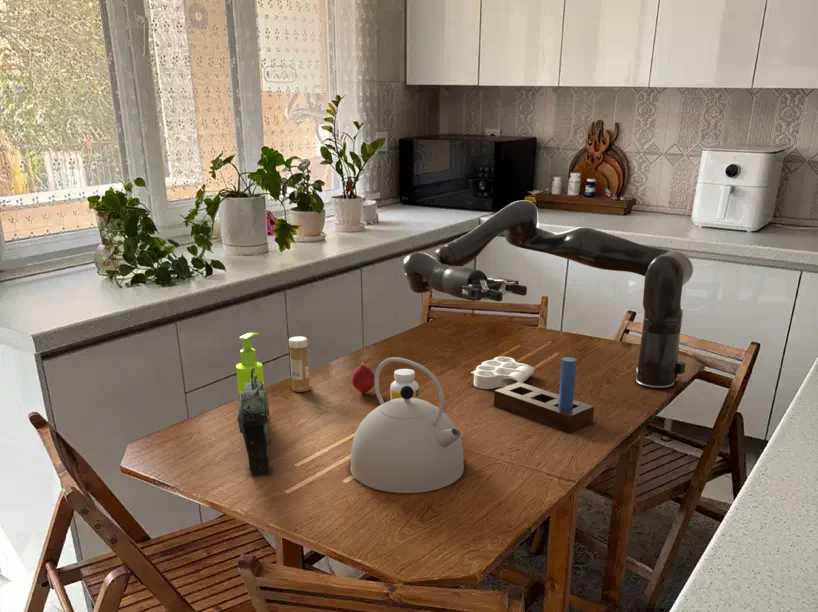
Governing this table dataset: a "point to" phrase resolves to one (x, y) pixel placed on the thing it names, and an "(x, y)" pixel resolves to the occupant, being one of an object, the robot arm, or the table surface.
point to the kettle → (407, 443)
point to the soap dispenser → (248, 363)
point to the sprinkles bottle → (299, 363)
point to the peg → (567, 383)
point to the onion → (363, 379)
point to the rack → (542, 407)
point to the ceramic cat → (255, 425)
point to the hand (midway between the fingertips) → (513, 294)
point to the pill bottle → (404, 383)
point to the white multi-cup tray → (500, 373)
